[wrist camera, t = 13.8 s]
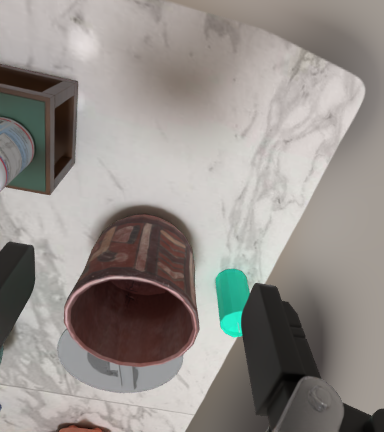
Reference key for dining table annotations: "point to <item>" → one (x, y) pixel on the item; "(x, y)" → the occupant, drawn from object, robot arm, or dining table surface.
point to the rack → (41, 124)
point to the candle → (231, 300)
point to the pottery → (136, 295)
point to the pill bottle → (13, 150)
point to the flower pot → (1, 353)
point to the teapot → (79, 429)
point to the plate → (112, 370)
